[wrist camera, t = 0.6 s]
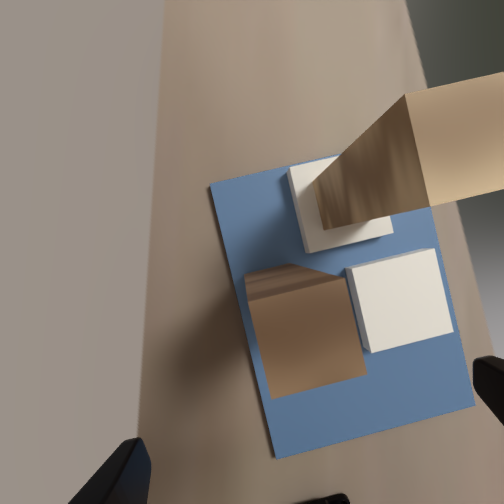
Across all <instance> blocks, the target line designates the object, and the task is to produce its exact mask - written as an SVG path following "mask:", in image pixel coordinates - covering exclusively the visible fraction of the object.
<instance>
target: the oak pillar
mask: <svg viewBox="0 0 504 504" xmlns="http://www.w3.org/2000/svg"><path fill="white" fill-rule="evenodd" d="M312 183H313V187H314V191H315V195H316V200H317V204H318V208H319V212H320V217H321V221H322V225H323V229H324V230H328V229H333V228H337V227H342V226H346V225H351V224H355V223H359V222H364V221H368V220H373V219H377V218H382V217H386V216H390V215H395V214H399V213H404V212H408V211H413V210H417V209H422V208H426V207H430V206H435V205H439V204H443V203H447V202H451V201H455V200H459V199H464V198H468V197H472V196H475V195H480V194H484V193H488V192H492V191H497V190H501V189H504V72H501V73H497V74H492V75H488V76H483V77H479V78H474V79H470V80H465V81H461V82H456V83H452V84H448V85H443V86H439V87H434V88H429V89H425V90H421V91H416V92H412V93H407V94H404V95H403V96H402V97H401V98H400V99H399V100H398V101H397V102H396V103H395V104H394V105H393V106H392V107H390V108H389V109H388V110H387V111H386V112H385V113H384V114H383V115H382V116H381V117H380V118H379V119H378V120H377V121H376V122H375V123H374V124H372V125H371V126H370V127H369V128H368V129H367V130H366V131H365V132H364V133H363V134H362V135H361V136H360V137H359V138H358V139H357V140H356V141H354V142H353V143H352V144H351V145H350V146H349V147H348V148H347V149H346V150H345V151H344V152H343V153H342V154H341V155H340V156H339V157H338V158H336V159H335V160H334V161H333V162H332V163H331V164H330V165H329V166H328V167H327V168H326V169H325V170H324V171H323V172H322V173H321V174H320V175H318V176H317V177H316V178H315V179H314V180H313V181H312Z"/></svg>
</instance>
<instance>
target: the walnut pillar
mask: <svg viewBox="0 0 504 504" xmlns="http://www.w3.org/2000/svg"><path fill="white" fill-rule="evenodd" d="M244 279H245V286H246V293H247V300H248V305H249V309H250V313H251V317H252V322H253V326H254V330H255V334H256V338H257V342H258V346H259V351H260V355H261V359H262V363H263V367H264V371H265V375H266V380H267V384H268V388H269V392H270V396H271V400H272V399H276V398H280V397H283V396H287V395H291V394H295V393H299V392H302V391H306V390H310V389H314V388H318V387H321V386H325V385H329V384H333V383H337V382H340V381H344V380H348V379H352V378H356V377H360V376H363V375H367V370H366V366H365V361H364V357H363V353H362V349H361V344H360V340H359V336H358V332H357V327H356V323H355V319H354V315H353V310H352V306H351V302H350V297H349V293H348V289H347V285H346V280H345V278H343V277H339V276H336V275H332V274H328V273H325V272H321V271H317V270H314V269H310V268H306V267H303V266H299V265H296V264H292V263H287V264H283V265H279V266H275V267H271V268H267V269H263V270H259V271H255V272H251V273H246V274H244Z"/></svg>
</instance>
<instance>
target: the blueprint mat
mask: <svg viewBox="0 0 504 504" xmlns="http://www.w3.org/2000/svg"><path fill="white" fill-rule="evenodd" d="M340 155H341V154H337V155H333V156H329V157H324V158H320V159H316V160H311V161H307V162H303V163H298V164H294V165H290V166H285V167H281V168H277V169H272V170H268V171H264V172H259V173H255V174H250V175H246V176H242V177H237V178H233V179H229V180H224V181H220V182H216V183H211V184H210V187H211V191H212V195H213V200H214V204H215V208H216V212H217V216H218V220H219V224H220V229H221V233H222V237H223V241H224V245H225V249H226V253H227V257H228V262H229V266H230V270H231V274H232V278H233V282H234V286H235V290H236V295H237V299H238V303H239V307H240V311H241V315H242V319H243V323H244V328H245V332H246V336H247V340H248V344H249V348H250V352H251V357H252V361H253V365H254V369H255V373H256V377H257V381H258V385H259V390H260V394H261V398H262V402H263V406H264V410H265V414H266V418H267V423H268V427H269V431H270V435H271V439H272V443H273V447H274V451H275V456H276V460H277V459H280V458H284V457H288V456H291V455H295V454H299V453H303V452H306V451H310V450H314V449H317V448H321V447H325V446H328V445H332V444H336V443H339V442H343V441H347V440H350V439H354V438H358V437H361V436H365V435H369V434H373V433H376V432H380V431H384V430H387V429H391V428H395V427H398V426H402V425H406V424H409V423H413V422H417V421H420V420H424V419H428V418H431V417H435V416H439V415H443V414H446V413H450V412H454V411H457V410H461V409H465V408H468V407H472V406H476V405H475V401H474V396H473V392H472V387H471V383H470V379H469V374H468V370H467V365H466V361H465V357H464V352H463V348H462V343H461V339H460V335H459V330H458V326H457V321H456V317H455V313H454V308H453V304H452V299H451V295H450V291H449V286H448V282H447V277H446V273H445V269H444V264H443V260H442V255H441V251H440V247H439V242H438V238H437V233H436V229H435V225H434V220H433V216H432V211H431V207H426V208H422V209H417V210H413V211H408V212H404V213H399V214H395V215H390V216H386V217H382V218H377V219H373V220H368V221H364V222H359V223H355V224H351V225H346V226H342V227H337V228H333V229H328V230H324V229H323V225H322V221H321V217H320V212H319V208H318V204H317V200H316V195H315V191H314V187H313V183H312V181H313V180H314V179H315V178H316V177H317V176H318V175H320V174H321V173H322V172H323V171H324V170H325V169H326V168H327V167H328V166H329V165H330V164H331V163H332V162H333V161H334V160H335V159H336V158H338V157H339V156H340ZM287 263H292V264H296V265H299V266H303V267H306V268H310V269H314V270H317V271H321V272H325V273H328V274H332V275H336V276H339V277H343V278H345V280H346V285H347V289H348V293H349V297H350V302H351V306H352V310H353V315H354V319H355V323H356V327H357V332H358V336H359V340H360V344H361V349H362V353H363V357H364V361H365V366H366V370H367V375H363V376H360V377H356V378H352V379H348V380H344V381H340V382H337V383H333V384H329V385H325V386H321V387H318V388H314V389H310V390H306V391H302V392H299V393H295V394H291V395H287V396H283V397H280V398H276V399H272V400H271V396H270V392H269V388H268V384H267V380H266V375H265V371H264V367H263V363H262V359H261V355H260V351H259V346H258V342H257V338H256V334H255V330H254V326H253V322H252V317H251V313H250V309H249V305H248V300H247V293H246V286H245V279H244V274H246V273H251V272H255V271H259V270H263V269H267V268H271V267H275V266H279V265H283V264H287Z"/></svg>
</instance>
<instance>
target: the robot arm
mask: <svg viewBox="0 0 504 504" xmlns="http://www.w3.org/2000/svg"><path fill="white" fill-rule="evenodd" d="M473 386H474V389H475V391H476V392H477V394H478V395H479V396H480V398H481V399H482V400H483V401H484V402H485V404H486V405H487V406H488V407H489V409H490V410H491V411H492V412H493V413H494V415H495V416H496V417H497V418H498V419H499V421H500V422H501V423H502V424H503V426H504V359H501V358H498V357H495V356H484V357H479V358H476V359H474V361H473ZM150 476H151V460H150V457H149V455H148V452H147V450H146V447H145V445H144V442H143V440H142V439H141V438H140V437H137V438H133V439H128V440H125V441H124V442H123V443H121V445H120V446H119V447H118V448H117V449H116V450H115V451H114V453H113V454H112V455H111V456H110V457H109V458H108V459H107V460H106V462H104V464H103V465H102V466H101V467H100V468H99V469H98V470H97V472H96V473H95V474H94V475H93V476H92V477H91V478H90V479H89V480H88V482H87V483H86V484H85V485H84V486H83V487H82V488H81V489H80V491H79V492H78V493H77V494H76V495H75V496H74V497H73V498H72V500H71V501H70V502H69V503H68V504H147V498H148V491H149V483H150ZM342 501H344V502H342ZM307 504H350V502H349V499H348V497H347V495H345V494H339V495H335V496H332V497H328V498H325V499H321V500H317V501H314V502H310V503H307Z"/></svg>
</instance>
